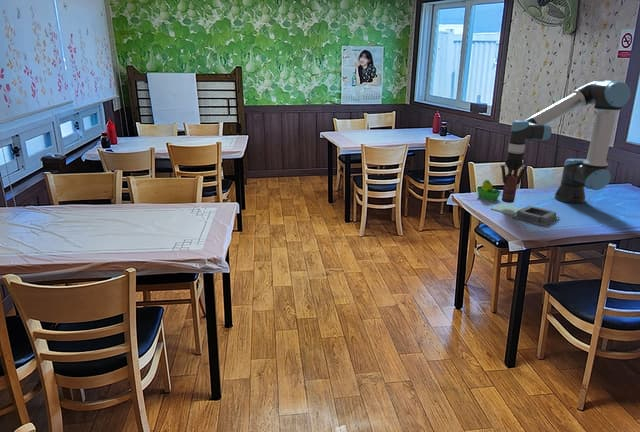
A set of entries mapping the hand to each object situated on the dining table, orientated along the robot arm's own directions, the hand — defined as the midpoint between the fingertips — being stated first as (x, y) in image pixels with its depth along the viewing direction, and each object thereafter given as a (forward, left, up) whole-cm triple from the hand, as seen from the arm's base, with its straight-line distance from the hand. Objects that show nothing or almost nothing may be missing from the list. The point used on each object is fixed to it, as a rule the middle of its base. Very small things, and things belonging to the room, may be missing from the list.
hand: (508, 196), depth 235 cm
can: (0, 0, -3) cm, 3 cm away
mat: (0, 0, -7) cm, 7 cm away
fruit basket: (-10, -17, -7) cm, 21 cm away
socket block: (+2, +16, -7) cm, 18 cm away
